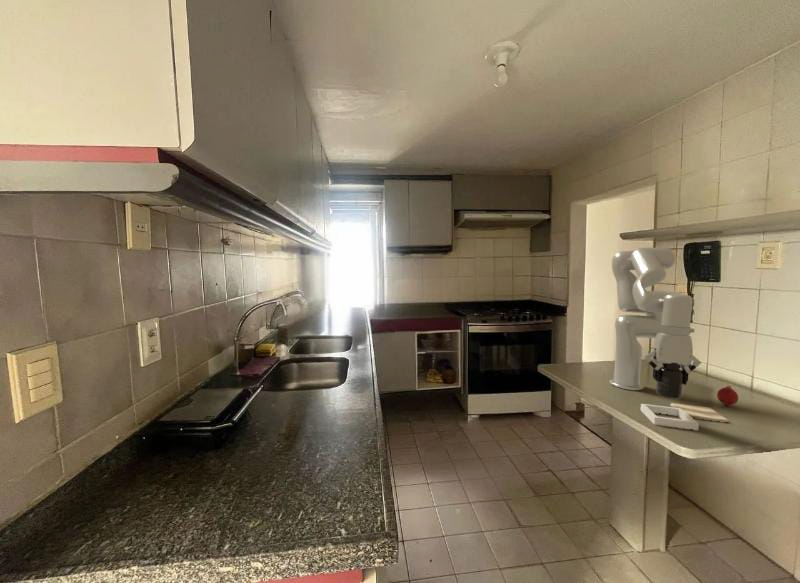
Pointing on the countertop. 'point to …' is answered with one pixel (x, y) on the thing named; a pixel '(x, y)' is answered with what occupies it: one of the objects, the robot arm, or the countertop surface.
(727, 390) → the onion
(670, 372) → the supplement bottle
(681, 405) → the board
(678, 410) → the white square frame
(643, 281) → the robot arm
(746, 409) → the countertop surface
